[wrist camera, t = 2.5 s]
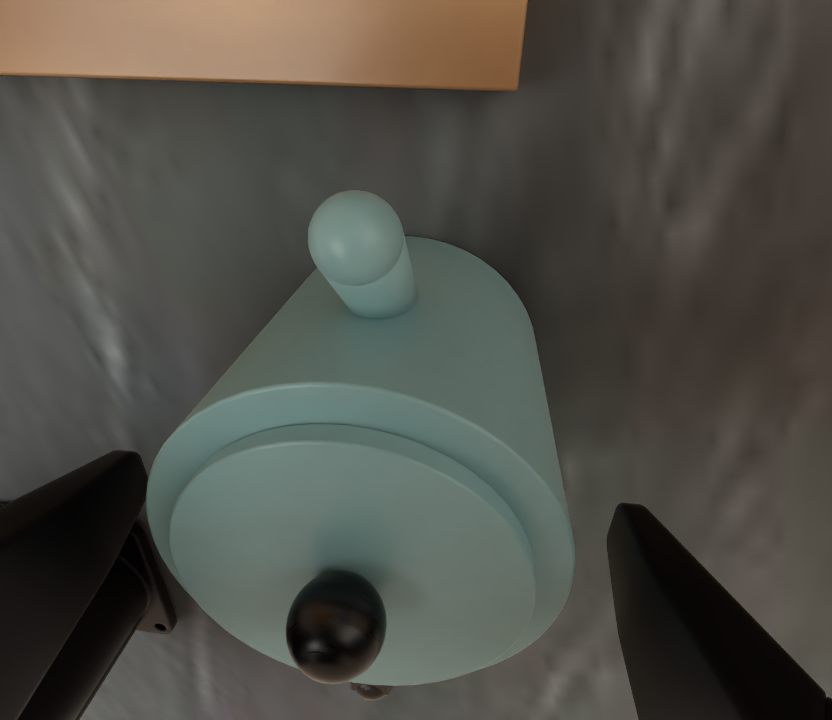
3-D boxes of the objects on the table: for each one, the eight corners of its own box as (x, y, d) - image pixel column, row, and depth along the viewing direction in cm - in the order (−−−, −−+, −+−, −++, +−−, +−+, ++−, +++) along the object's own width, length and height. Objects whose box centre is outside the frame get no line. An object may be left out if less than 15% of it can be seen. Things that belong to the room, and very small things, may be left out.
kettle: (508, 522, 16) (527, 874, 9) (305, 499, 17) (174, 812, 10) (573, 145, 10) (767, 302, 3) (259, 132, 11) (-152, 241, 4)
